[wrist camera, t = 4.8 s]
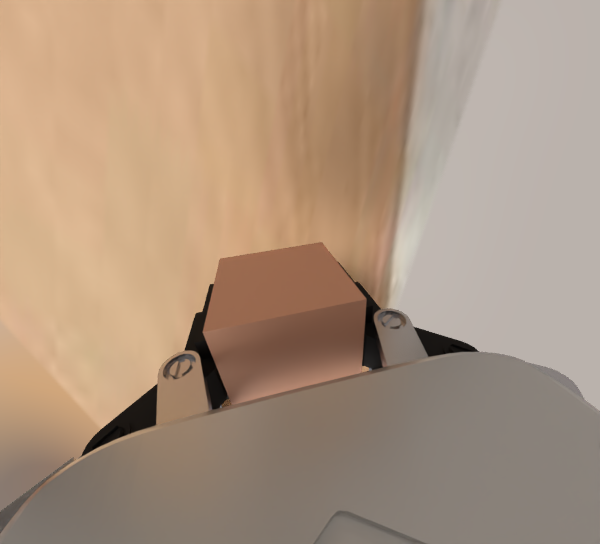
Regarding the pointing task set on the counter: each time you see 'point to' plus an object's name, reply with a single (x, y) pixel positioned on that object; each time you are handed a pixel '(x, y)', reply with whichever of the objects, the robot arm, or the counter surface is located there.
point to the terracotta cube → (284, 321)
